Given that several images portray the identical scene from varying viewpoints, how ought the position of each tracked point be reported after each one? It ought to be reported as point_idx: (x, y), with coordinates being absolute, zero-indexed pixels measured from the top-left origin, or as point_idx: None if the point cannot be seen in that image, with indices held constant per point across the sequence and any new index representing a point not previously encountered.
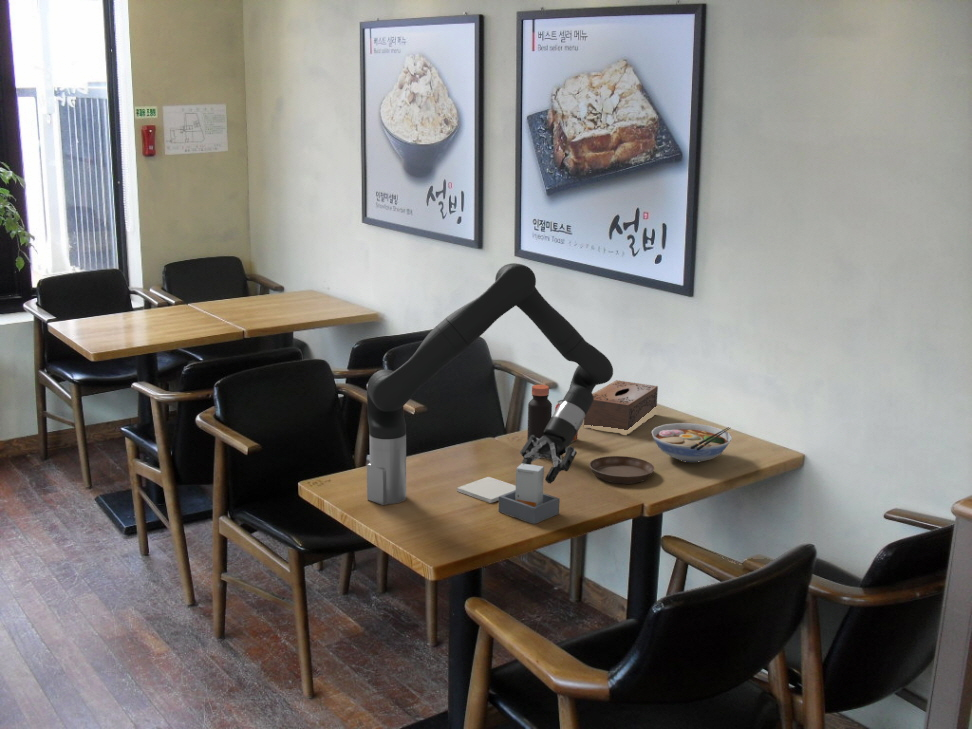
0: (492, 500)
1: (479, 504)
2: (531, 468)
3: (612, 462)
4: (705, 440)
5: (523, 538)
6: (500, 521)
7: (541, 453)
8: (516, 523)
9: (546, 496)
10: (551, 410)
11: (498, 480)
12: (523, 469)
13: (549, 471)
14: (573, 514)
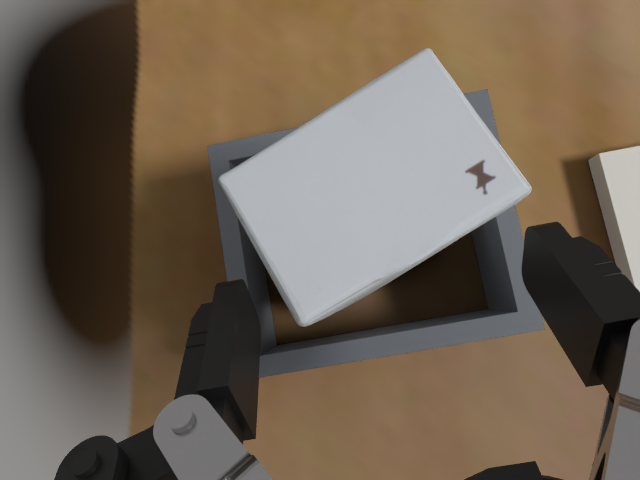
0: (598, 169)
1: (605, 102)
2: (326, 168)
3: None
4: None
5: (141, 36)
6: (354, 62)
7: (508, 475)
8: (290, 110)
9: (328, 343)
10: None
11: None
12: (360, 89)
13: (229, 336)
14: None
